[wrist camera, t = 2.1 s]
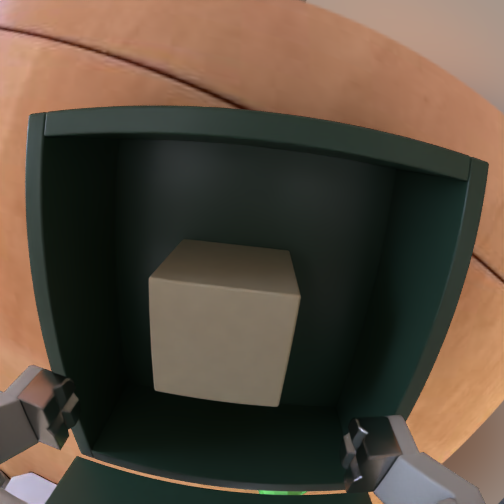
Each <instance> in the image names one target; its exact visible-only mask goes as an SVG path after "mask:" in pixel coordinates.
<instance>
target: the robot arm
mask: <svg viewBox="0 0 504 504" xmlns="http://www.w3.org/2000/svg"><path fill="white" fill-rule="evenodd" d="M75 389H76V387H75V384H74V381H73V380H72V379H71V378H68V377H66V376H63V375H60V374H57V373H54V372H52V371H49V370H46V369H43V368H41V367H38V366H35V365H31V366H28V368H27V369H26V370H25V371H24V372H23V373H22V374H21V375H20V376H19V377H18V378H17V379H16V380H15V381H14V382H13V383H12V384H11V385H10V387H9V388H8V389H7V390H6V391H5V392H2V391H0V464H1V463H3V462H5V461H7V460H8V459H10V458H12V457H14V456H16V455H17V454H19V453H21V452H23V451H25V450H26V449H28V448H30V447H32V446H33V445H35V444H37V443H38V441H39V442H42V443H44V444H47V445H49V446H52V447H54V448H57V449H59V450H61V448H62V447H63V445H64V443H65V442H66V440H67V438H68V437H69V433H68V429H70V428H72V427H74V426H75V425H76V423H77V422H78V420H79V416H80V412H81V408H80V402H79V399H78V397H77V396H76V395H75V394H74V393H73V392H74V390H75ZM348 429H349V433H348V434H346V435H345V436H343V439H342V441H341V444H340V450H339V457H340V463H341V465H342V466H343V467H344V468H345V469H346V472H345V474H344V476H343V478H344V483H345V488H346V492H347V493H361V492H372V491H374V492H373V493H374V494H375V495H376V496H377V497H378V498H379V499H380V500H381V501H382V502H383V503H384V504H485V502H484V499H483V497H482V495H481V493H480V491H479V489H478V488H477V487H476V486H474V485H473V484H471V483H470V482H468V481H466V480H465V479H463V478H462V477H460V476H459V475H457V474H456V473H454V472H452V471H451V470H449V469H448V468H446V467H445V466H443V465H442V464H440V463H439V462H437V461H436V460H434V459H433V458H432V457H430V456H429V455H427V454H426V453H424V452H421V453H419V450H418V448H417V446H416V444H415V442H414V439H413V437H412V435H411V433H410V431H409V429H408V426H407V424H406V422H405V420H404V418H403V417H402V416H401V415H392V416H377V417H356V418H353V419H352V420H351V421H350V423H349V425H348ZM4 482H5V476H4V475H3V473H2V472H1V470H0V504H28V503H27V502H25V501H23V500H21V499H19V498H18V497H16V496H14V495H12V494H11V493H9V492H7V491H6V490H4V489H2V488H1V487H2V485H3V483H4Z"/></svg>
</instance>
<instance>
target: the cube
mask: <svg viewBox="0 0 504 504" xmlns="http://www.w3.org/2000/svg"><path fill="white" fill-rule="evenodd" d="M300 300H301V295H300V291H299V287H298V283H297V279H296V275H295V271H294V268H293V264H292V260H291V256H290V252H289V251H288V250H279V249H270V248H261V247H252V246H243V245H234V244H225V243H216V242H207V241H198V240H189V239H183V240H182V241H181V242H180V243H179V244H178V246H177V247H176V248H175V249H174V250H173V251H172V252H171V253H170V254H169V256H168V257H167V258H166V259H165V260H164V261H163V262H162V263H161V265H160V266H159V267H158V268H157V269H156V270H155V271H154V272H153V274H152V275H151V276H150V277H149V315H150V337H151V353H152V367H153V379H154V389H155V390H156V391H159V392H165V393H170V394H176V395H181V396H187V397H194V398H200V399H207V400H214V401H222V402H230V403H239V404H248V405H259V406H271V407H278V405H279V402H280V397H281V393H282V388H283V384H284V379H285V375H286V370H287V365H288V361H289V356H290V351H291V346H292V341H293V336H294V331H295V326H296V321H297V316H298V310H299V305H300Z"/></svg>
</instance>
